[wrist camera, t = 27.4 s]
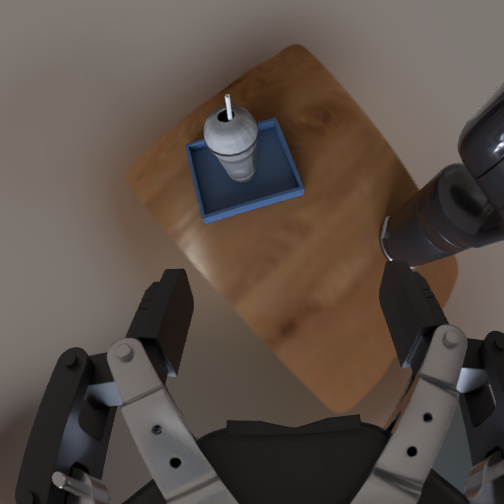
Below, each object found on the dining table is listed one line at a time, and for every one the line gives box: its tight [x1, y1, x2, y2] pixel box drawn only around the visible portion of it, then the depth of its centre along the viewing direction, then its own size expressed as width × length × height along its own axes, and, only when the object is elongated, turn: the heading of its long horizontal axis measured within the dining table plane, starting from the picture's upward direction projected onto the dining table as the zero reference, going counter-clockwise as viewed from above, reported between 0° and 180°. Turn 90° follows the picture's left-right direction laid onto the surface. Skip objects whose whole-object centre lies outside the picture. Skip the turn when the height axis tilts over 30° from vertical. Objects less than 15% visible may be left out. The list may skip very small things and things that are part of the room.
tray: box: [185, 118, 305, 224], centre depth 47 cm, size 16×14×2 cm
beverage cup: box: [204, 94, 259, 183], centre depth 38 cm, size 7×7×20 cm
